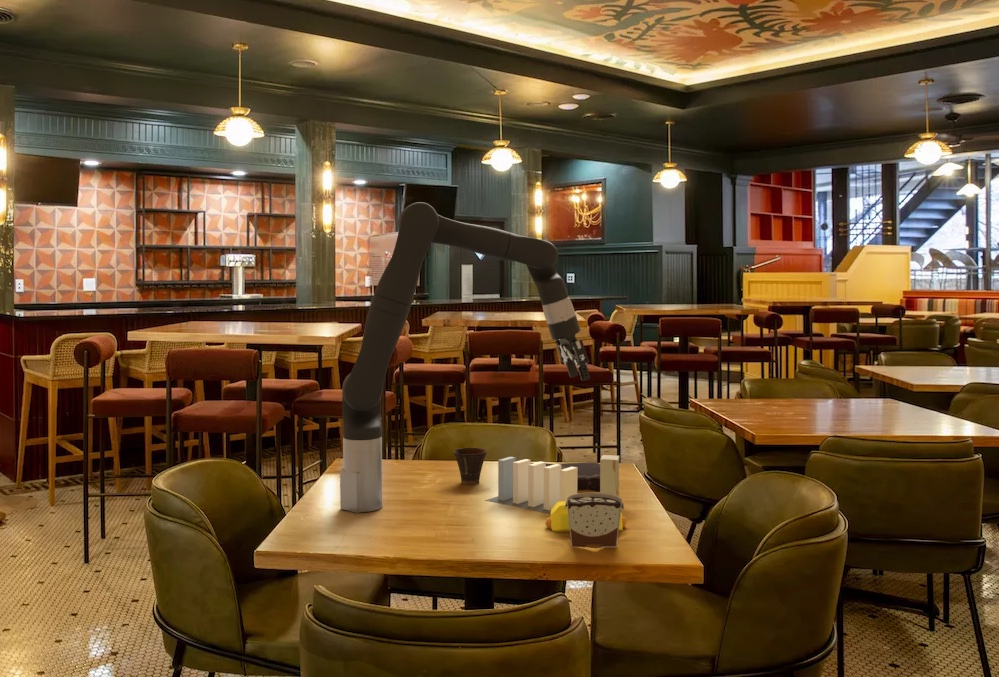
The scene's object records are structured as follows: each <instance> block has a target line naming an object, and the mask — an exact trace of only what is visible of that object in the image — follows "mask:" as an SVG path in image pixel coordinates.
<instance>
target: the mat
mask: <svg viewBox="0 0 999 677" xmlns="http://www.w3.org/2000/svg"><path fill="white" fill-rule="evenodd" d="M485 501H486V502H490V503H496V504H499V505H505V506H511V507H514V508H519V509H524V510H530V511H534V512H538V513H543V514H549V515H550V514H551V510H546V509H544V503H543V504H541V505H538V506H535V507H531V506H528V501H525V502H522V503H519V504H517V503H513V498H510V499H507V500H504V501H502V500H498V495H497V496H495V497H492V498H491V497H490V498H488V499H486V500H485Z"/></svg>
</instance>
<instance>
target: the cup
mask: <svg viewBox="0 0 999 677" xmlns="http://www.w3.org/2000/svg"><path fill="white" fill-rule="evenodd" d="M487 454H488V450H487V449H485V448H480V447H461V448H456V449H454V450H453V455H454V458H455V459H456V463H457V466H458V470H459V474H460V483H461V484H463V485H467V486H471V485H472V486H473V485H479V484H480V479H481V473H482V468H483V465H484V461H485V458H486V455H487Z"/></svg>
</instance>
